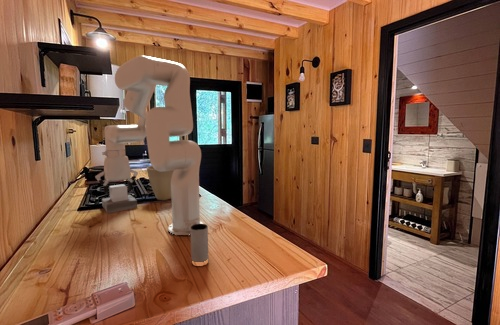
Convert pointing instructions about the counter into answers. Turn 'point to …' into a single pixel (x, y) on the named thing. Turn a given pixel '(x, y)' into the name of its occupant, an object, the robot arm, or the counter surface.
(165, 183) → the plant pot
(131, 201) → the charcoal block
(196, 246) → the grey cylinder
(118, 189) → the white cube
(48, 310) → the counter surface
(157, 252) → the counter surface
